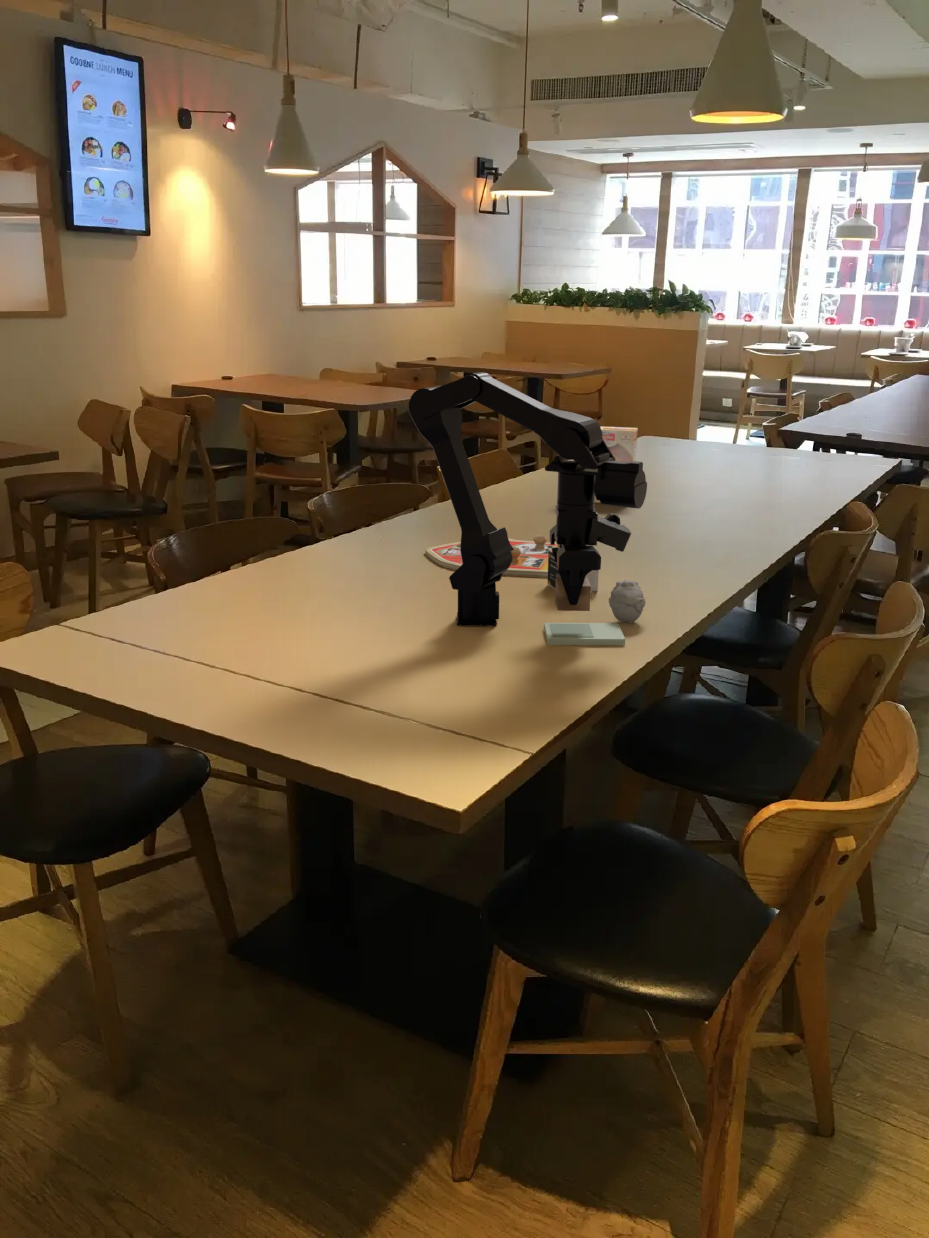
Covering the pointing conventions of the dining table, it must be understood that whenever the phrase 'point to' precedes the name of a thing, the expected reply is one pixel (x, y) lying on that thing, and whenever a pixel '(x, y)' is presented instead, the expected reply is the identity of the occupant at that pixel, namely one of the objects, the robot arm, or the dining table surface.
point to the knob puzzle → (525, 556)
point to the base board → (583, 634)
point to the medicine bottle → (554, 573)
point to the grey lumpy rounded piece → (627, 601)
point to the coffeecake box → (620, 443)
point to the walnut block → (563, 601)
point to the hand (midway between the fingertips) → (571, 599)
